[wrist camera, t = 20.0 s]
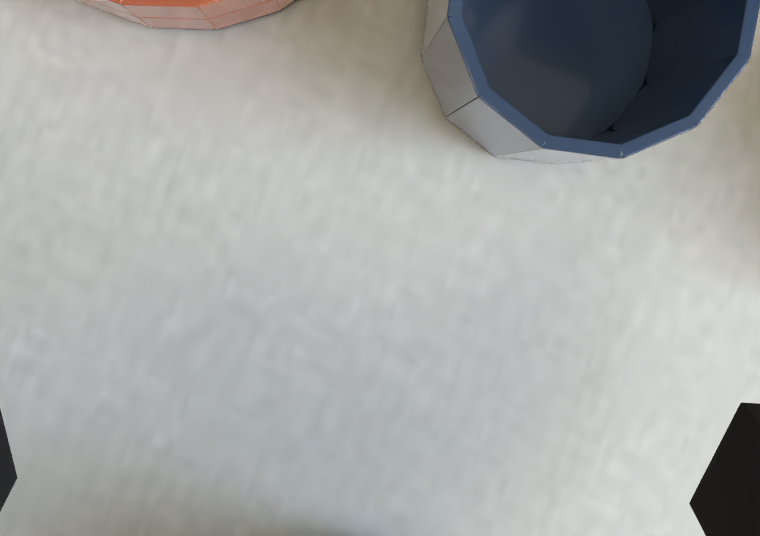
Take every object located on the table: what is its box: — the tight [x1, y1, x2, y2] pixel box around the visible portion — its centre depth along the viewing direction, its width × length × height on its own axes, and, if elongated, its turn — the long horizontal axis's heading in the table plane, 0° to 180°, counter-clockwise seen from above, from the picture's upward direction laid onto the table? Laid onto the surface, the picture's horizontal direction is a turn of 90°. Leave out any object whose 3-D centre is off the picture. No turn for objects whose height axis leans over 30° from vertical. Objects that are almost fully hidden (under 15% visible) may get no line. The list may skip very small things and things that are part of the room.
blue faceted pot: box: [421, 0, 760, 164], centre depth 27 cm, size 11×11×8 cm
